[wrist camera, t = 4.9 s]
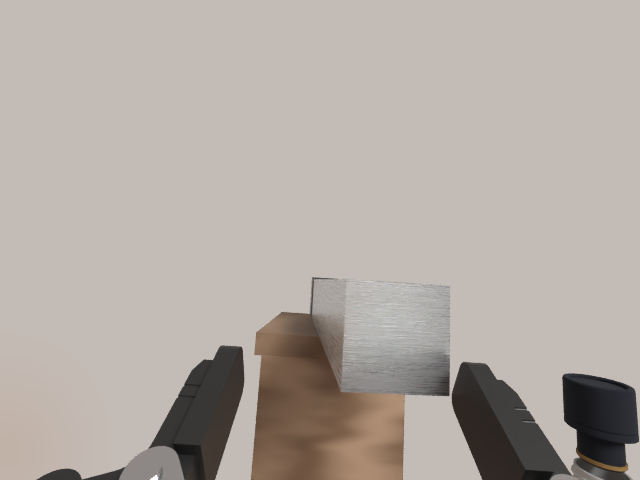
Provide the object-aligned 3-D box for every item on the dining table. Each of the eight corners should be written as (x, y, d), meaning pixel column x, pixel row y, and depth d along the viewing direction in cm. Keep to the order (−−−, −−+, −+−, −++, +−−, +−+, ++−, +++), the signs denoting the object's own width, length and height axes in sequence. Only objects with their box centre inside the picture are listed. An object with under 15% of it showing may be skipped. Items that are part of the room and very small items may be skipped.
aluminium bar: (346, 316, 35) (348, 279, 35) (452, 396, 11) (452, 280, 12) (309, 314, 34) (312, 277, 35) (338, 392, 11) (344, 273, 11)
